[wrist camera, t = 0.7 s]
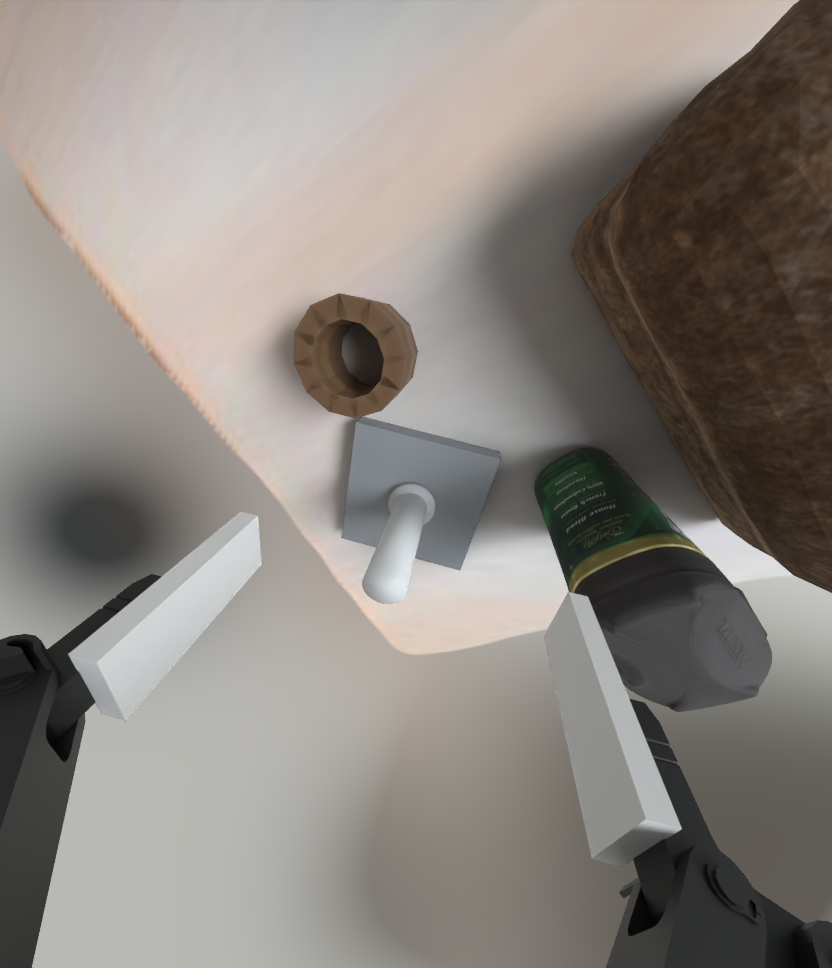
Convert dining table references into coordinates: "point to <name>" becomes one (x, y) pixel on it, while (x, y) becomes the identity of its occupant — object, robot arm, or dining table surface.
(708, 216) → the bread
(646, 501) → the coffee jar
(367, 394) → the ring
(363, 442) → the post block
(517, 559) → the dining table surface
